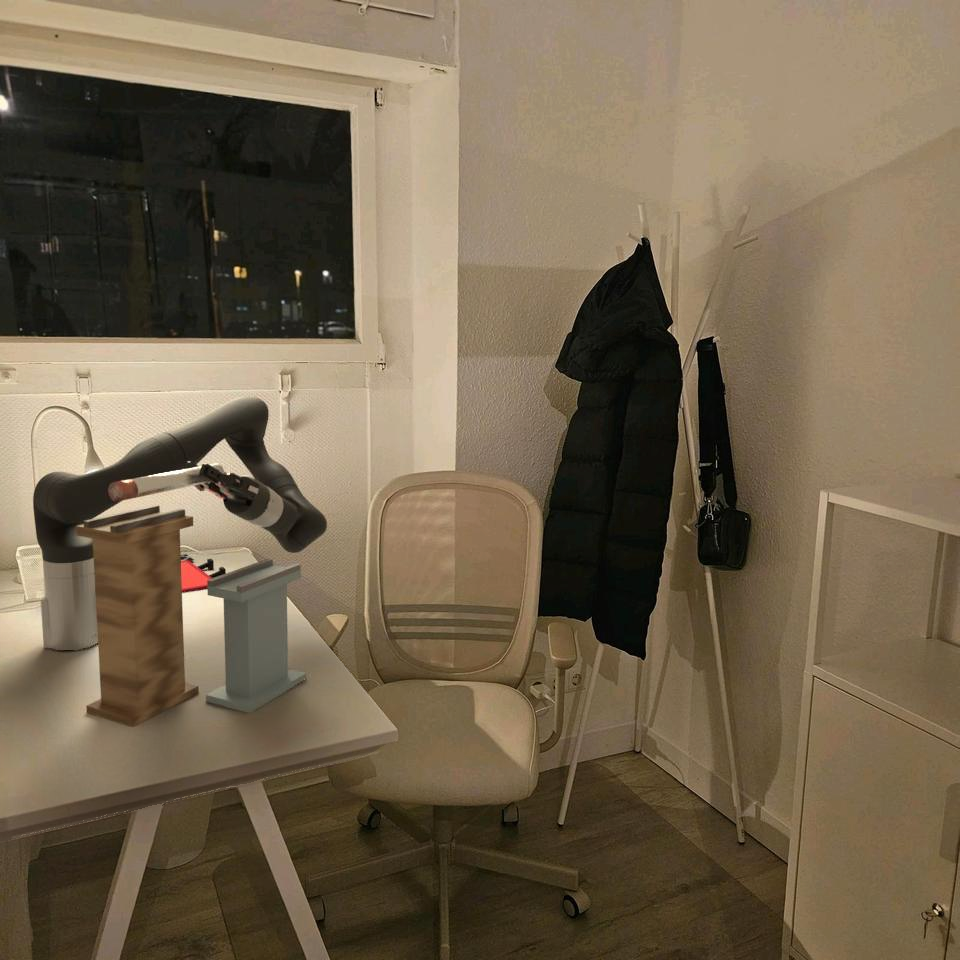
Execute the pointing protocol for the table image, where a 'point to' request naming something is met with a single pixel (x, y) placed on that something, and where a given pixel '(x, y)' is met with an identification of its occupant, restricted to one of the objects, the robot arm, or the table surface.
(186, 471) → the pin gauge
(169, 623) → the stand
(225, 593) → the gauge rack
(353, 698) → the table surface
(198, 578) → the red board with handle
